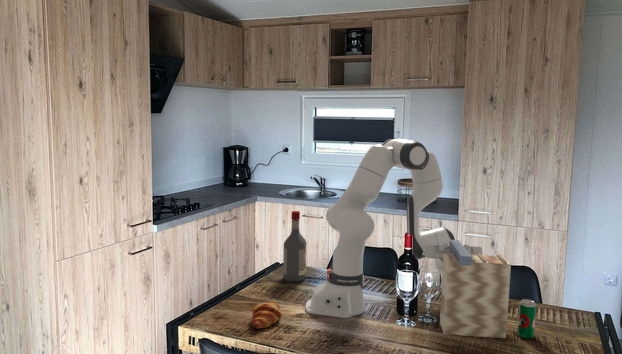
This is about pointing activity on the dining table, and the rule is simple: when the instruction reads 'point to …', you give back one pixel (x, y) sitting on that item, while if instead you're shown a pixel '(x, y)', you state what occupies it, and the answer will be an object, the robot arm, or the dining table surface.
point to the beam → (460, 252)
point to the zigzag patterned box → (475, 296)
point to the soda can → (526, 319)
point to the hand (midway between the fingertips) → (456, 246)
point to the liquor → (294, 253)
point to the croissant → (266, 314)
